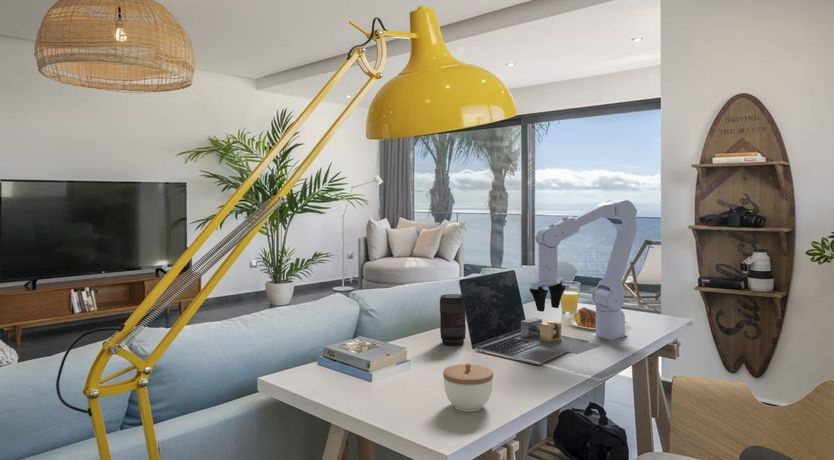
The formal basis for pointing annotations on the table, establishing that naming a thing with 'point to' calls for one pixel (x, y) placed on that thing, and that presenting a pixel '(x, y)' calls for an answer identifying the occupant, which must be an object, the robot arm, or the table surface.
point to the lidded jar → (468, 386)
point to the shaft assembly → (532, 328)
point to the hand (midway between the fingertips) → (547, 309)
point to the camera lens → (452, 319)
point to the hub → (550, 332)
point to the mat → (560, 345)
